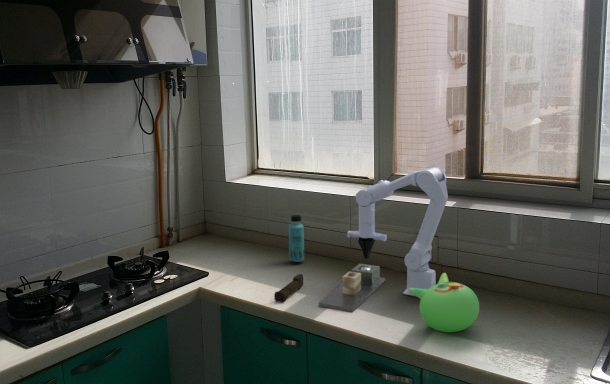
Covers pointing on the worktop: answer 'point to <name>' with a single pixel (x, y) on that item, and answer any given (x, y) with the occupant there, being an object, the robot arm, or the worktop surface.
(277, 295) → the hand tool
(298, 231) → the beverage bottle
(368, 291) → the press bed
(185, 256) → the worktop surface
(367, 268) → the press pin
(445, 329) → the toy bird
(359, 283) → the block
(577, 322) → the worktop surface
